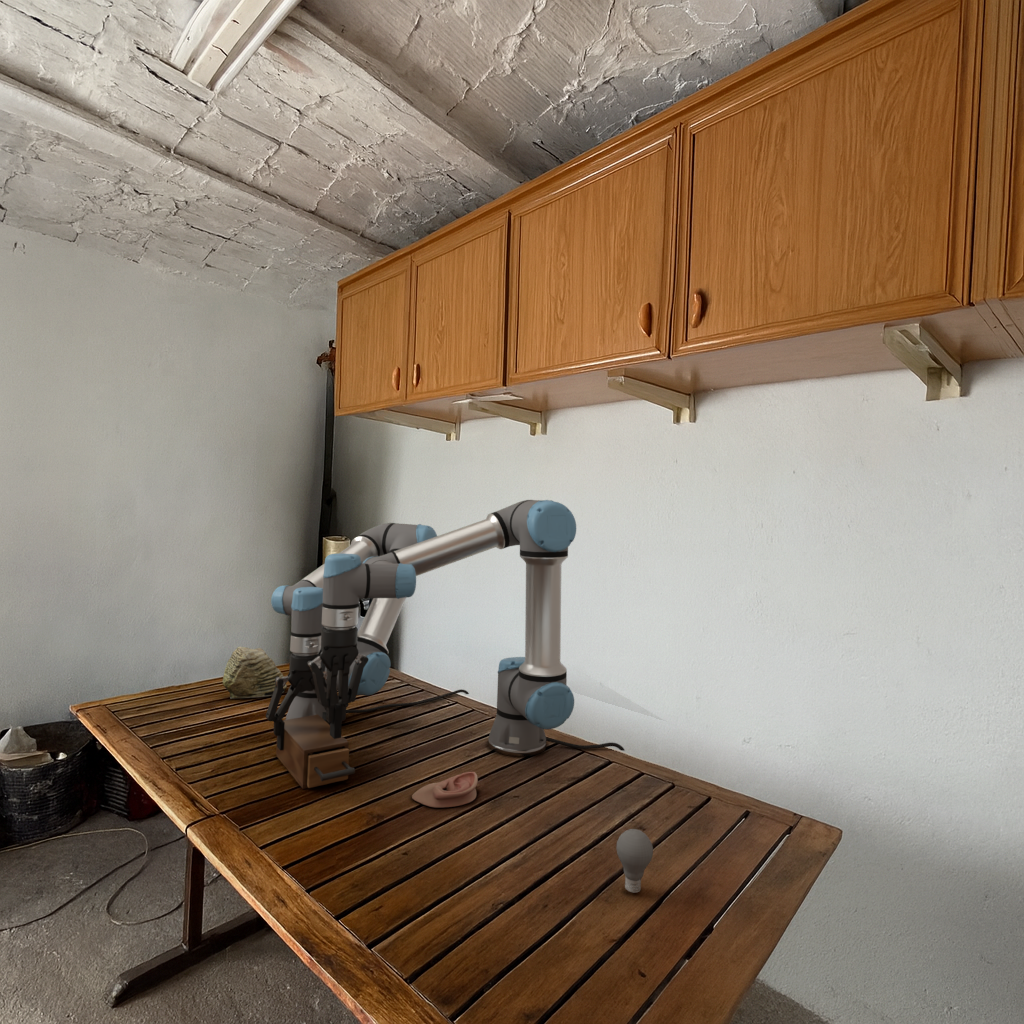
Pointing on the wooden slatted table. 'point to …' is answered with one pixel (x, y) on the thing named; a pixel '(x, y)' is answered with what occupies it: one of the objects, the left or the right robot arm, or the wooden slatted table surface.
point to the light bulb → (634, 857)
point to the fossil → (250, 674)
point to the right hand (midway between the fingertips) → (335, 736)
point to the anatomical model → (449, 791)
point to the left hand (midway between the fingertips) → (302, 744)
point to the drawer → (328, 766)
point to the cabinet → (305, 744)
